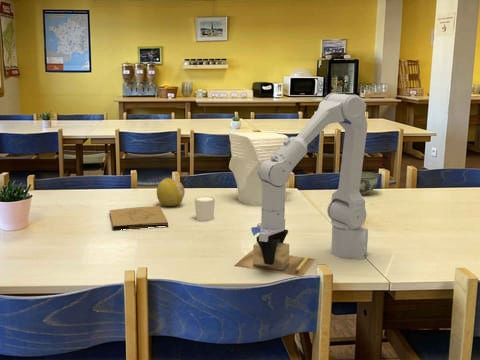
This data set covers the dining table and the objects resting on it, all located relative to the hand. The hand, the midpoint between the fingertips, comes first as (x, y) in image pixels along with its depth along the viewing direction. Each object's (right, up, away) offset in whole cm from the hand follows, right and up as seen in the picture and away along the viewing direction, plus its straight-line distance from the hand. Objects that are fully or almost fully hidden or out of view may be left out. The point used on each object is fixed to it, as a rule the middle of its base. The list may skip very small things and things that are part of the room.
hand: (272, 260), depth 138 cm
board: (+1, -2, +3) cm, 4 cm away
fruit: (-33, +11, +63) cm, 72 cm away
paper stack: (+2, +12, +70) cm, 72 cm away
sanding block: (0, -1, 0) cm, 1 cm away
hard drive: (0, +3, +29) cm, 29 cm away
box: (-42, +6, +45) cm, 62 cm away
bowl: (+41, +15, +84) cm, 94 cm away
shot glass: (-20, +7, +46) cm, 51 cm away
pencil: (+8, -1, +1) cm, 8 cm away
